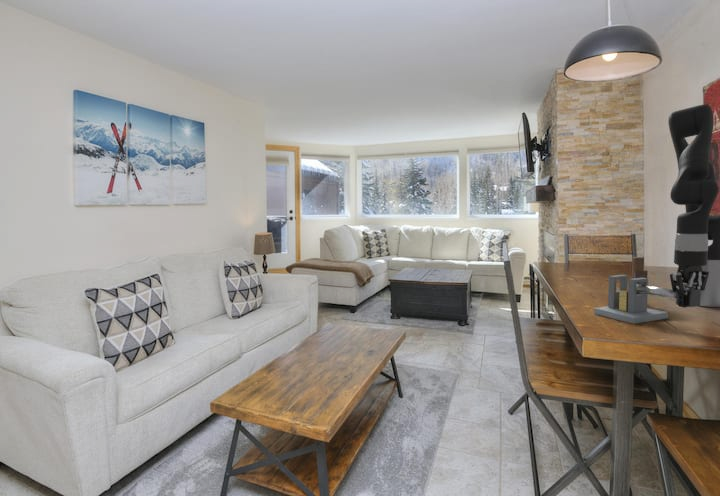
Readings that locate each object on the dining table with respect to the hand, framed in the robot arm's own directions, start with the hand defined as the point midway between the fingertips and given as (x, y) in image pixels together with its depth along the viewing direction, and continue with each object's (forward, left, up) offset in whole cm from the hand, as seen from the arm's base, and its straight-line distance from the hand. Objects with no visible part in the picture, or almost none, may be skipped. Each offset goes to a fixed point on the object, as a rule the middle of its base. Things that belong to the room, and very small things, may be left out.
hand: (687, 305), depth 117 cm
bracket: (0, -17, -7) cm, 18 cm away
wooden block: (-16, -26, -8) cm, 31 cm away
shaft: (0, -7, 0) cm, 7 cm away
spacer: (0, -17, -2) cm, 18 cm away
